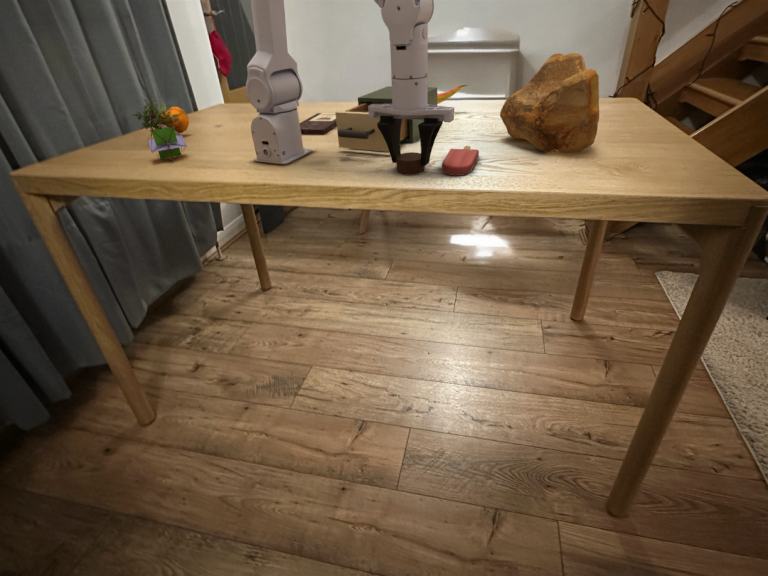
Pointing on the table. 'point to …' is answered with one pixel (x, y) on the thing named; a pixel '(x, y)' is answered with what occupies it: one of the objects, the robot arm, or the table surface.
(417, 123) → the cabinet
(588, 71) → the rough brown rock
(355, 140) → the drawer
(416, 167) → the cookie
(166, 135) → the geometric puzzle
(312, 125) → the chocolate bar
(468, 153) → the popsicle
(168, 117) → the christmas decoration
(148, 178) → the table surface
